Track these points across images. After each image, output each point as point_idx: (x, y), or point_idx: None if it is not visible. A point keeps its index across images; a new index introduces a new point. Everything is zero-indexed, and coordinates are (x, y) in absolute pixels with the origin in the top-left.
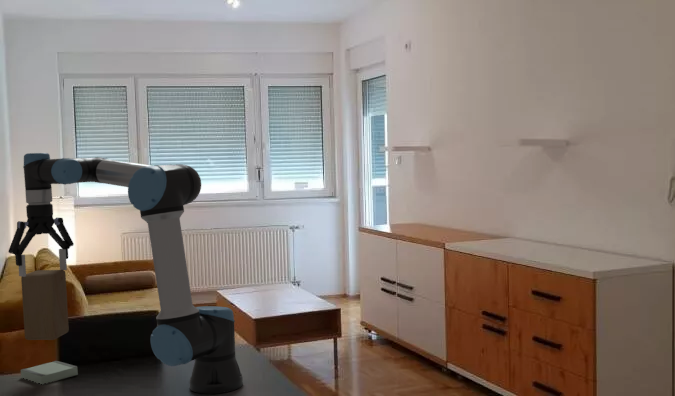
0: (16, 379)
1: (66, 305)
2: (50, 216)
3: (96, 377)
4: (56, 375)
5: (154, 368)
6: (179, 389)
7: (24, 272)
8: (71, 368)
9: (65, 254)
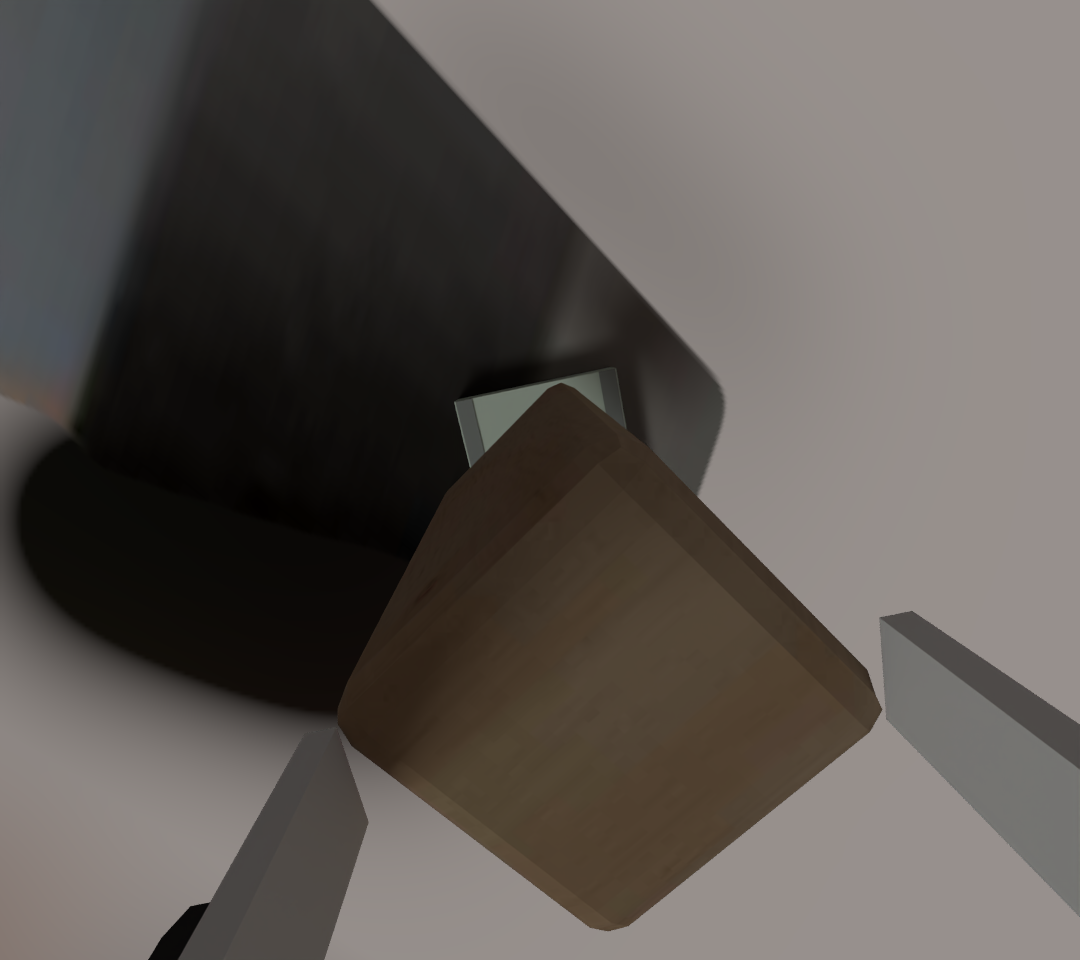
0: None
1: (428, 533)
2: None
3: (411, 302)
4: (549, 381)
5: (166, 244)
6: None
7: (939, 641)
8: (481, 396)
9: (188, 956)
